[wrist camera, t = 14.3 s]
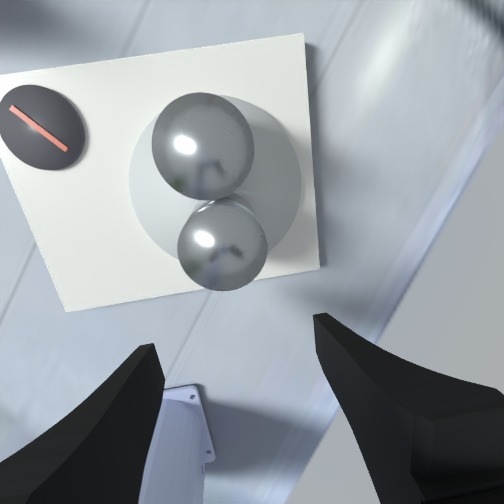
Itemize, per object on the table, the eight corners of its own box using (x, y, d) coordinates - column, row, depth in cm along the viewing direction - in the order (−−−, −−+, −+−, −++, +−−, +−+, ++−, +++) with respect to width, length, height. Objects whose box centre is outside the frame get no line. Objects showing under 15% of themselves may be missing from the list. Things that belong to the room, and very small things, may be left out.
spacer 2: (264, 243, 20) (278, 275, 15) (204, 263, 20) (197, 302, 15) (244, 181, 18) (252, 192, 13) (179, 203, 18) (161, 223, 13)
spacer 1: (241, 191, 18) (247, 206, 13) (172, 182, 18) (150, 194, 13) (250, 117, 17) (261, 101, 12) (175, 105, 16) (152, 83, 11)
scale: (315, 263, 23) (322, 272, 21) (74, 304, 22) (61, 316, 20) (298, 40, 18) (306, 28, 16) (-15, 84, 17) (-42, 76, 15)
